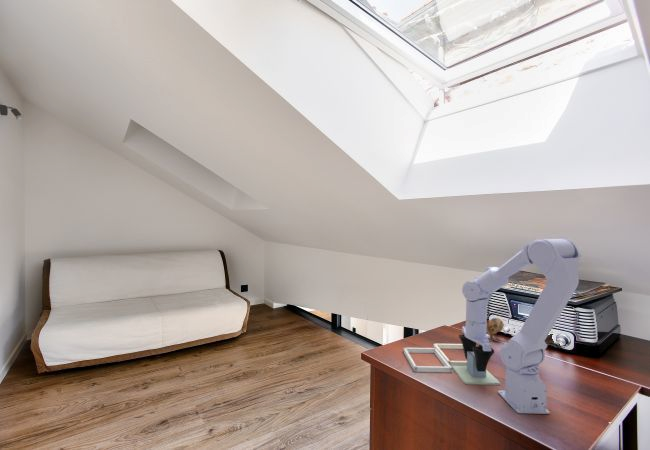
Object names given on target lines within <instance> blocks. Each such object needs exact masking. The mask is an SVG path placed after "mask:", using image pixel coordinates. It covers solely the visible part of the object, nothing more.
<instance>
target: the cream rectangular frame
mask: <svg viewBox="0 0 650 450" xmlns="http://www.w3.org/2000/svg"><path fill="white" fill-rule="evenodd" d="M432 346H433V347H432V348H436V349H437V350H438V351H439V352H440V354H441V355H442V356H443V357H444V359H445V360H446V361H447V362H448V363H449V365H450V366H451V367H452V366H467V360H450V359H449V357H447V355H446V354H445V353H444V352H443V350H442V349H445V350H447V349H448V350H449V349H450V350H464V349H463V345H462V343H433V345H432Z"/></svg>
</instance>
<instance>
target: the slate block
mask: <svg viewBox="0 0 650 450" xmlns="http://www.w3.org/2000/svg"><path fill="white" fill-rule="evenodd" d="M466 361H467V371H468V373H469V374H470V375H471V376H472V377H486V370H487V369H486V370H485V372H483V371H477V368H476V359H475V354H474V352H470V351H467V359H466Z"/></svg>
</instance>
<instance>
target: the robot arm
mask: <svg viewBox="0 0 650 450" xmlns="http://www.w3.org/2000/svg"><path fill="white" fill-rule="evenodd" d="M581 257H582V254H581V253H580V251H579V249H578V247H577V246H576V244H575V243H574V241H572V240H571V239H568V238H565V237H559V238H537V239H534V240H532V241H531V242H530V243H528V244H526V245H524V246H523V247H522V248H521V250H520V251H518V252H517V253H516V254H515V255H513V256H512V257H510V258H509V260H507V261H506V262H504V263H503V264H502V265H500V266H498V267H497V266H488V267H486V268H485V272H483V273H482V274H481V275H477V276H475V278H474V280H467V281H465V283H463V286H462V287H461V288H462V289H461V292H462V294H463V297H464V298H465V300H466V302H465V326H461V327H462V328H461V330H462V332H461V333H463V334H459V335H458V338H459V340H460V342H461V344H462V345H463V349H462V350H463V353H464V357H465V359H466V360H467V351H470V352H474V354H475V359H476V368H477V371H483V372H485V370H487V368H488V367H487V366H488V363H489V361H490V359H491V357H492V356H493V355H494V353H495V350H494V349H493V347H492V344H491V343H490V341H488V338H490V336H489V335H488V334H487V331H486V329H487V321H488V319H487V318H488V305H489V300H490V299H491V298H492V296H493V294H494V293H495V292H497V291H498V290H499V289H501V288H503V287H505V286H506V285H508V283H509V278H510V277H512V276H513V275H515V274H517V273H519V272H520V271H523V270H525V268H527V267H530V266H531V265H533V264H534V266H535V267H536V268H537V269H538V270H539V271H540V273H541V274H542V275H543V276H544V277H545V280H546V281H547V282H546V283H545V285H544V287H543V289H542V291H541V293H540V294H539V296H538V298H537V300H536V301H535V304H534V305H533V307H532V309H531V311H530V312H529V314H528V316H527V318H526V320H525V322H524V323H523V325H522V327H521V329H520V330H519V332H517V333H516V334H515V335H513V336H512V337H511V338H509V341H507V343H505V344H503V345H501V347H500V349H499V358H500V359H501V361H502V363H503V365H504V367H505V382H504V390H502V389H501V390H500V389H499V390H497V393H498V394H499V396H501V397H502V399H504V400H505V401H506V403H508V405H509V406H511V408H512V409H513V410H514V411H515V412H516V413H518V414H538V415H539V414H540V415H541V414H544V415H546V414H547V415H548V414H550V411H549V409H548V408H547V400H548V399H547V392H548V390H547V386H546V384H545V383H544V381H543V380H542V379H541V377H540V375H539V369H540V364H542V363H543V362H544V360H545V355H546V354H545V353H546V349H547V348H548V344H546V343H545V342H544V341H545V339H546V337H547V336H548V334H549V332H550V331H551V329H553V328H554V326H555V324H556V323H557V320H558V319H559V318H560V316H561V314H562V313H563V311H564V310H565V308H566V306H567V305H568V303H569V301H570V299H571V298H572V296H573V294H574V293H575V291H576V289H577V288H578V285H579V283H580V276H579V261H580V259H581ZM477 344H478V346H477Z"/></svg>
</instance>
